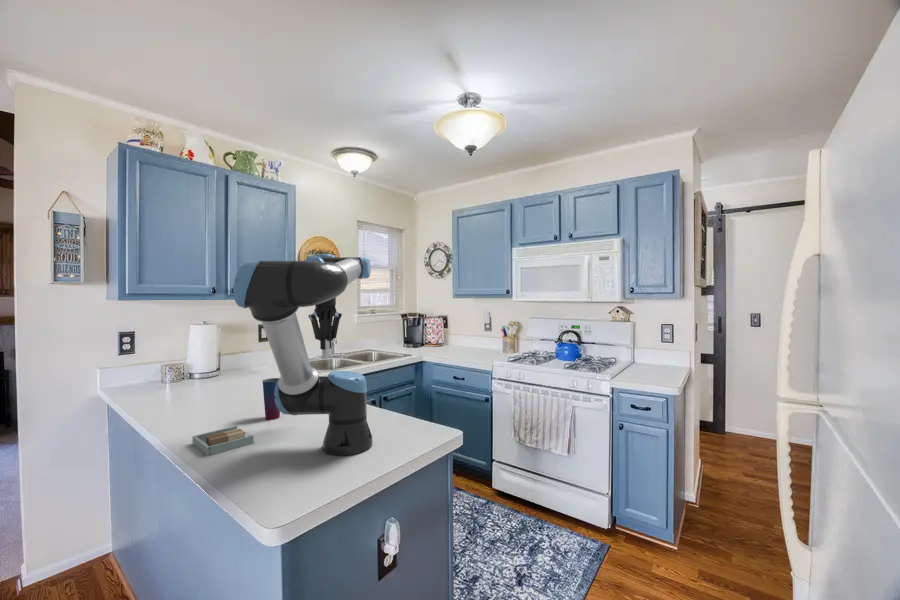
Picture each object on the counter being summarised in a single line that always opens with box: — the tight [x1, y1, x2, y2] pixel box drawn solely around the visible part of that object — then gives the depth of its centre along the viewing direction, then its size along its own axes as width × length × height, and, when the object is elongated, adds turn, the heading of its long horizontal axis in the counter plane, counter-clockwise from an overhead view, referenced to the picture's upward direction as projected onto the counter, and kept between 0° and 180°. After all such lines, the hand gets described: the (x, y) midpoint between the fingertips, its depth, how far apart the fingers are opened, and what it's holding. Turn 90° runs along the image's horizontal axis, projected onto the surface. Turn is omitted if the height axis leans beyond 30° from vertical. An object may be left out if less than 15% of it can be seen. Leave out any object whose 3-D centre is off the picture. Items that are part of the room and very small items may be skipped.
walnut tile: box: [205, 432, 228, 446], centre depth 123 cm, size 5×5×3 cm
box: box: [191, 425, 255, 457], centre depth 124 cm, size 15×13×2 cm
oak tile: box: [224, 428, 246, 441], centre depth 127 cm, size 5×5×3 cm
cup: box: [262, 377, 281, 421], centre depth 150 cm, size 7×7×15 cm
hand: (326, 357), depth 144 cm, fingers closed
